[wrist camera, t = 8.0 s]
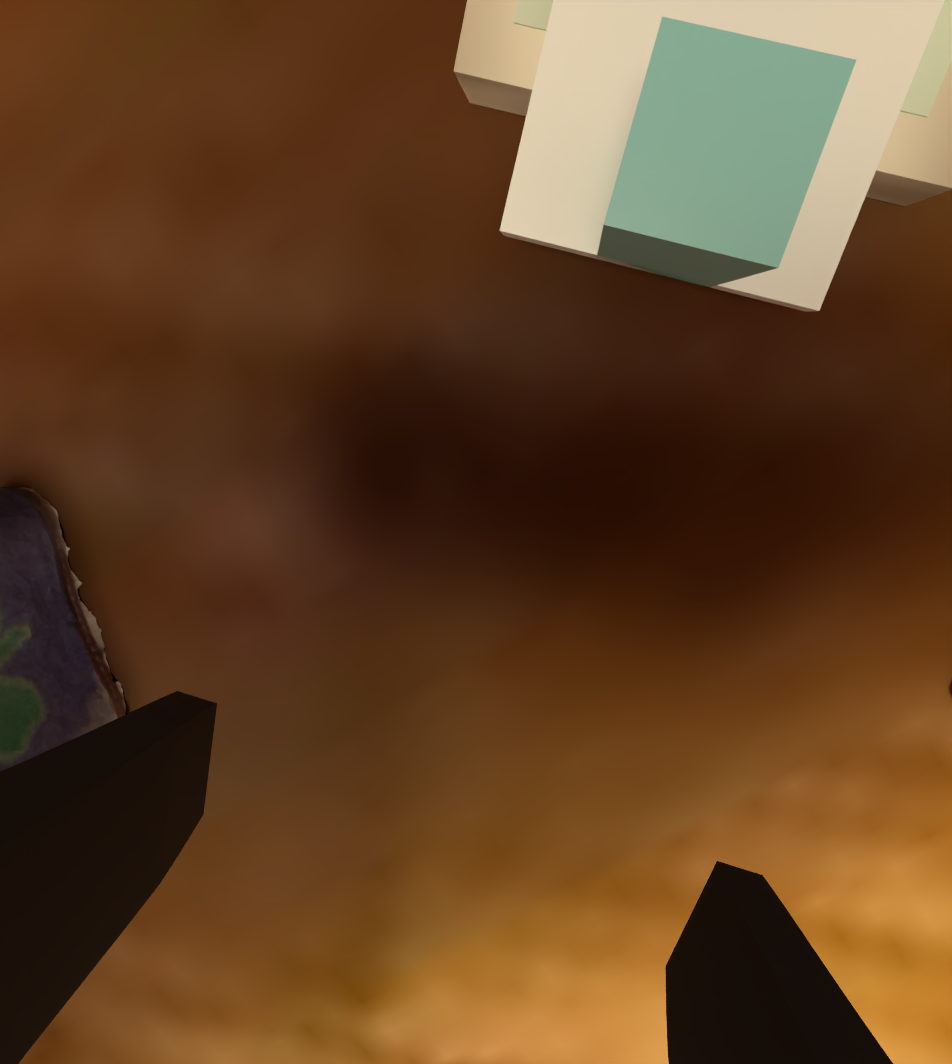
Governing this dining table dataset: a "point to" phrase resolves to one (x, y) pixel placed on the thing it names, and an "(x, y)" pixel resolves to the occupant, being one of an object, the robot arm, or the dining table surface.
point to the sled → (713, 135)
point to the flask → (45, 638)
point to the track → (905, 166)
